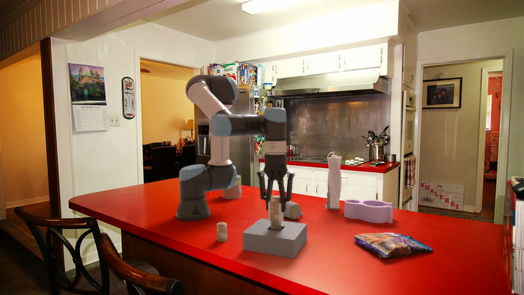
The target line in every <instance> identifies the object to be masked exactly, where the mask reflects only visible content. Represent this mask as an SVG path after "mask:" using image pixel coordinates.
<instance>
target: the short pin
mask: <svg viewBox="0 0 524 295" xmlns="http://www.w3.org/2000/svg"><path fill="white" fill-rule="evenodd" d="M227 229H228V224H227V223H226V222H223V221H222V222H218V223H216V241H217V242H219V243H221V242H222V243H223V242H226V241H228V230H227Z"/></svg>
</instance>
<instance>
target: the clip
mask: <svg viewBox="0 0 524 295" xmlns="http://www.w3.org/2000/svg"><path fill="white" fill-rule="evenodd" d="M393 208H394V203H393V202H387V201H383V200H379V199H363V200H362V199H358V198H357V199H356V198H355V199H354V198H348V199H347V198H346V199H345V201H344V213H343V214H344V217H345V218H347V219H350V220H351V219H352V220H353V219H354V220H361V221H364V222H367V223H371V224H372V223H373V224H385V222H386V223H388V224H393V214H394V213H393V212H394V209H393Z"/></svg>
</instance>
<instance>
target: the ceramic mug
mask: <svg viewBox="0 0 524 295" xmlns="http://www.w3.org/2000/svg"><path fill="white" fill-rule="evenodd" d="M303 214H304V212H303V211H302V207H301V205H300V204H298V203H297V202H295V201H291V200H290V201H289V202H286V211H285V212H283V218H287V219H290V220H297V219H298V218H299V217H301V216H303Z"/></svg>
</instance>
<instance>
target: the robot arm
mask: <svg viewBox="0 0 524 295" xmlns="http://www.w3.org/2000/svg"><path fill="white" fill-rule="evenodd" d="M184 91H185V95H186V97H187V99H188V100H189V101H190V102H191V103H192V104H194V105H195V104H196V106H197V107H198V108H199V109H200V110H201V111H202V113H203V114H204V115H205V116H206V117H207V118H208V120H210V122H209V128H210V137H211V138H210V141H211V143H210V160H209V161H208V162H207V166H206V165H205V164H202V163H201V164H200V163H199V164H191V165H187V166H184V167H182V168H181V169H180V170H179V172H178V173H179V175H178V181H179V184H178V185H179V203H178V206H177V209H176V219H177V220H180V221H187V222H190V221H191V222H192V221H194V222H195V221H201V220H204V219H207V218H208V217H210V216H211V210H210V206H209V204H208V202H207V196H206V195H207V194H206V193H208V192H215V191H222V190H226V189H230V188H232V187H233V186H234V185H235V183H236V179H237V175H238V171H237V168H236V166H235V165H233V161H232V160H231V159H230V137H240V136H241V137H244V136H245V137H246V136H247V137H248V136H249V137H252V136H263V137H264V139H263V140H264V145H263V146H264V152H265V154H264V167H263V169H261V170H259V171H257V172H256V175H257V178H258V184H259V196H260V199H261V200H263V201H265V210H266V211H267V212H268V213H267V214H268V215H267V216H268V218H267V219H268V221H271V196H273V195H272V194H273V189H274V188H273V187H274V182H275V181H276V183H277V185H278V186H277V187H278V193H279V196H280V200H281V202H280V203H279V222H282V221H284V216H283V212H285V211H286V202H289V201H291V200H292V196H293V195H292V192H293V184H294V182H293V180H294V178H295V176H296V173H295V172H292V171H290V170H289V169H288V167H287V166H288V165H287V121H288V118H287V111H286V109H285V108H284V107H267V108H265V109H264V110H263V111H264V112H263V114H235V113H232V112H231V111H230V110H231V108H233V106H234V103H235V102H236V101H237V100H238V96H239V89H238V85H237V82H236V81H235V79H234V78H233V77H230V76H225V75H215V74H214V75H212V74H210V75H209V74H197V75H194V76H193V77H191V78H190V79H189V80H188V81H187V83H186V85H185V90H184ZM265 175H266V177H267V180H266V177H265ZM285 176H286V178H287V180H286V189H285V180H284V178H285ZM266 182H267V185H266ZM266 187H267V188H266Z"/></svg>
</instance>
